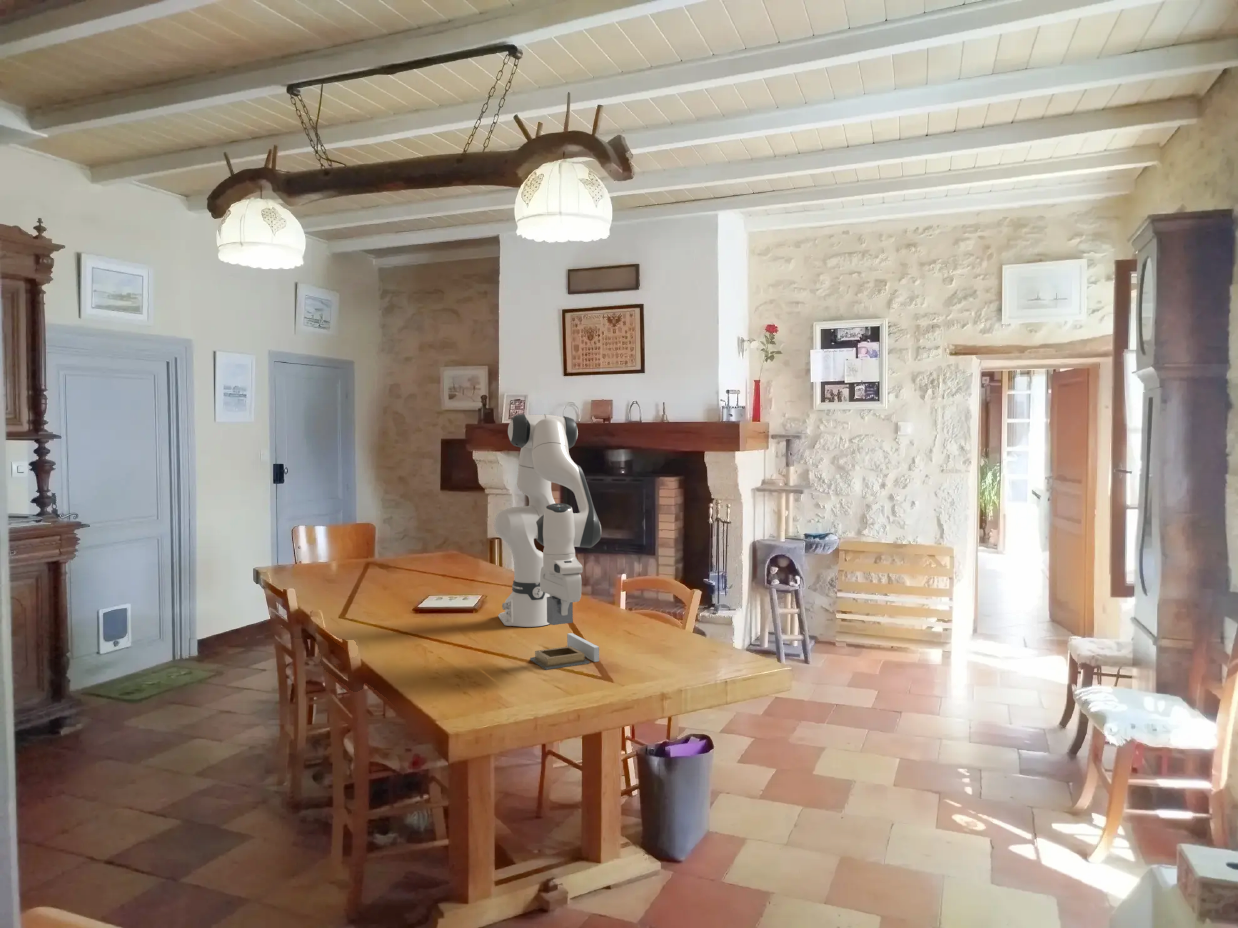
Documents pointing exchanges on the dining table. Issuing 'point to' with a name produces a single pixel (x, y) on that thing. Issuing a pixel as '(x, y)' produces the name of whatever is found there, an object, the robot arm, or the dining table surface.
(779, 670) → the dining table surface
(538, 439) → the robot arm
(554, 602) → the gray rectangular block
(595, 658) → the door edge
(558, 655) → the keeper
